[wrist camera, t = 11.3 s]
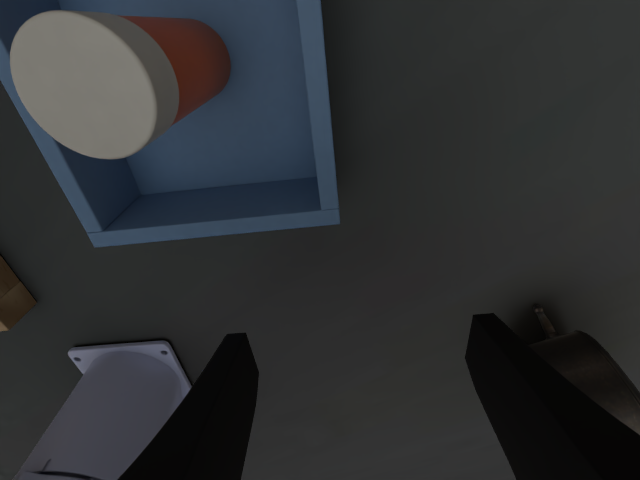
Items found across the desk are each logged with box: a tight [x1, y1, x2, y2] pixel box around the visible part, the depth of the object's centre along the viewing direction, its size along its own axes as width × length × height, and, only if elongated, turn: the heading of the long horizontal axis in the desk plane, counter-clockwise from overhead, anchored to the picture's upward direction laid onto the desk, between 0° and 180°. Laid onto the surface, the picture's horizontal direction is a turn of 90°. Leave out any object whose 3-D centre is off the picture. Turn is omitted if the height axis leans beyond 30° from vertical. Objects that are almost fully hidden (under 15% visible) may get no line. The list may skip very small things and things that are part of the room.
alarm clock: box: [529, 304, 640, 435], centre depth 20 cm, size 11×5×16 cm, turn 31°
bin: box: [0, 0, 340, 247], centre depth 14 cm, size 14×12×5 cm
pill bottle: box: [10, 10, 231, 159], centre depth 12 cm, size 3×3×8 cm
